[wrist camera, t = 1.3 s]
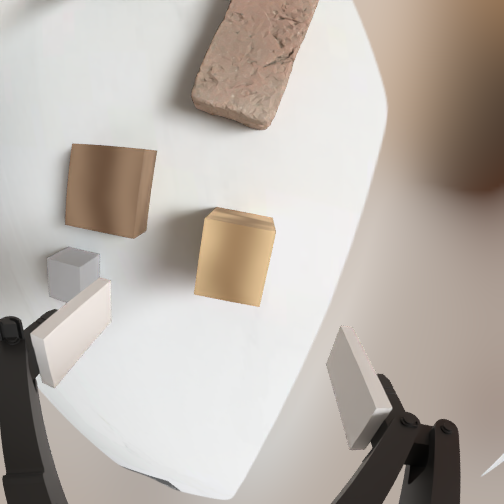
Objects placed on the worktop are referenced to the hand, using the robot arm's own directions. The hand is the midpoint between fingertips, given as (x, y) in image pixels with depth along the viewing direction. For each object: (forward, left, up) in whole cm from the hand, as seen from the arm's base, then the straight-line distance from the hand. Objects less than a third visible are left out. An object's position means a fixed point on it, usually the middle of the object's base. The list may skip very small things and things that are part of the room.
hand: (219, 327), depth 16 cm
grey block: (-19, -7, -17) cm, 27 cm away
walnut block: (-15, +4, -18) cm, 24 cm away
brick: (-2, +21, -18) cm, 28 cm away
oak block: (0, 0, -17) cm, 17 cm away
